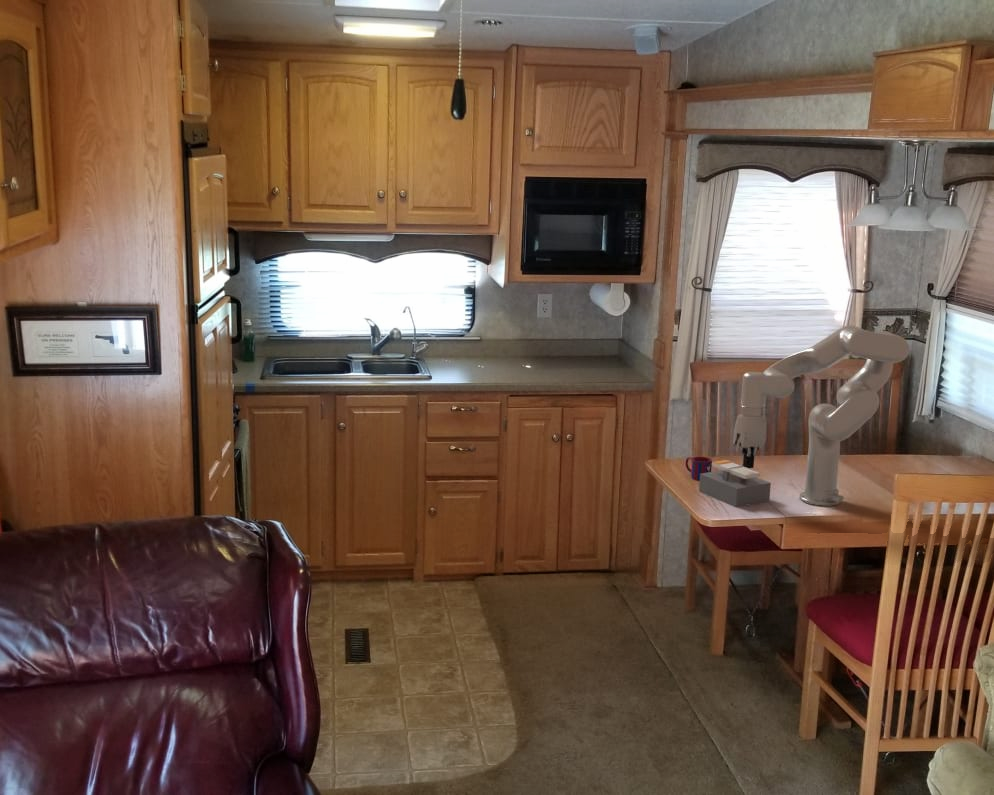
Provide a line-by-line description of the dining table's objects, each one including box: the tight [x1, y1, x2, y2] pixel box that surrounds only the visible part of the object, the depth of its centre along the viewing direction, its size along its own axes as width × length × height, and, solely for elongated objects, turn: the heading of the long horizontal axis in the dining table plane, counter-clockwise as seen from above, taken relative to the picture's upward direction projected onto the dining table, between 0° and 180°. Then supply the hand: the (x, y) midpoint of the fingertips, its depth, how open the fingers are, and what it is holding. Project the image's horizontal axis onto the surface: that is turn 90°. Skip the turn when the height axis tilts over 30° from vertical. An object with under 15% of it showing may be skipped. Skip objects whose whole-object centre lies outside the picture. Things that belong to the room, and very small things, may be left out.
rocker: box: [712, 459, 761, 479], centre depth 332 cm, size 16×6×2 cm, turn 29°
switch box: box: [698, 469, 772, 508], centre depth 333 cm, size 18×14×9 cm
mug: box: [685, 456, 713, 482], centre depth 353 cm, size 7×10×7 cm
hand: (748, 467), depth 326 cm, fingers closed
